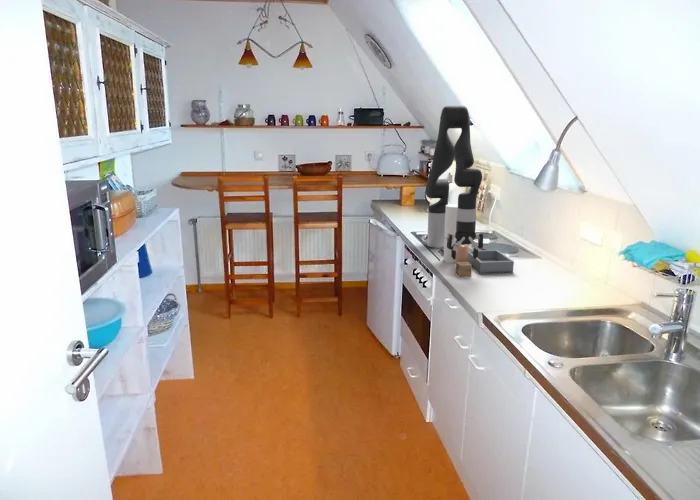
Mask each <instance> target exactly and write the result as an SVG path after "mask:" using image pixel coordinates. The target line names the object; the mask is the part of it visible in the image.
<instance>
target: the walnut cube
mask: <svg viewBox="0 0 700 500" xmlns="http://www.w3.org/2000/svg"><path fill="white" fill-rule="evenodd" d="M455 266H456V268H455V275H456V276H457V277H458V278H468V277H469V278H470V277H472V270H473V269H472V265H471V264H470V263H469V262H456V263H455Z"/></svg>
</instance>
